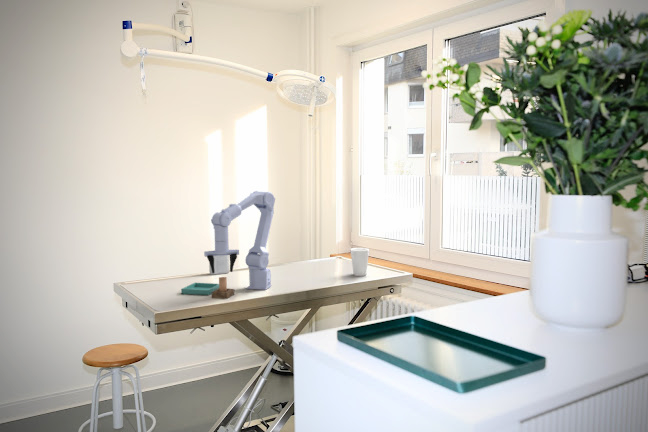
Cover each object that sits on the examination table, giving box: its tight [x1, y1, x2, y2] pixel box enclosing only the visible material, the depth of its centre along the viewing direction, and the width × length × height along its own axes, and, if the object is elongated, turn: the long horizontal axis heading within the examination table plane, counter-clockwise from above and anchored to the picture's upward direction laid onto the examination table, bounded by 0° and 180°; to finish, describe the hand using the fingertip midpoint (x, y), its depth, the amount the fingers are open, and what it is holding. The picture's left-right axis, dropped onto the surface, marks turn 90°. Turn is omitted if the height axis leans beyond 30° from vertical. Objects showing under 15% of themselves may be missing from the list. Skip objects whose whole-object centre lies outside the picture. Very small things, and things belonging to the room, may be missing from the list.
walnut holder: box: [211, 288, 235, 299], centre depth 237 cm, size 7×7×2 cm
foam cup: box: [350, 247, 370, 277], centre depth 279 cm, size 10×9×13 cm
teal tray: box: [180, 282, 219, 296], centre depth 246 cm, size 13×13×2 cm
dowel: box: [218, 276, 228, 292], centre depth 236 cm, size 3×3×8 cm
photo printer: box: [208, 253, 230, 276], centre depth 283 cm, size 10×4×12 cm, turn 123°
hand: (222, 272), depth 236 cm, fingers open, 7 cm apart
